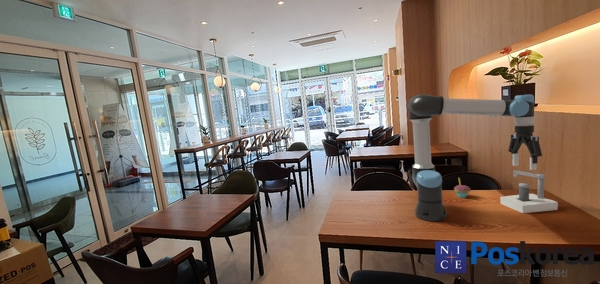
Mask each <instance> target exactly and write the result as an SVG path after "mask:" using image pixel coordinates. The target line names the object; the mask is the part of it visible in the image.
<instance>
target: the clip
mask: <svg viewBox="0 0 600 284" xmlns="http://www.w3.org/2000/svg"><path fill="white" fill-rule="evenodd" d="M518 175H520V176H526V177H531V178H536V179H538V178H539V179H544V180H545V178H546V174H544V173H533V172H528V171H522V170H516V169H513V171H512V177H514V178H517V177H518Z"/></svg>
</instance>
